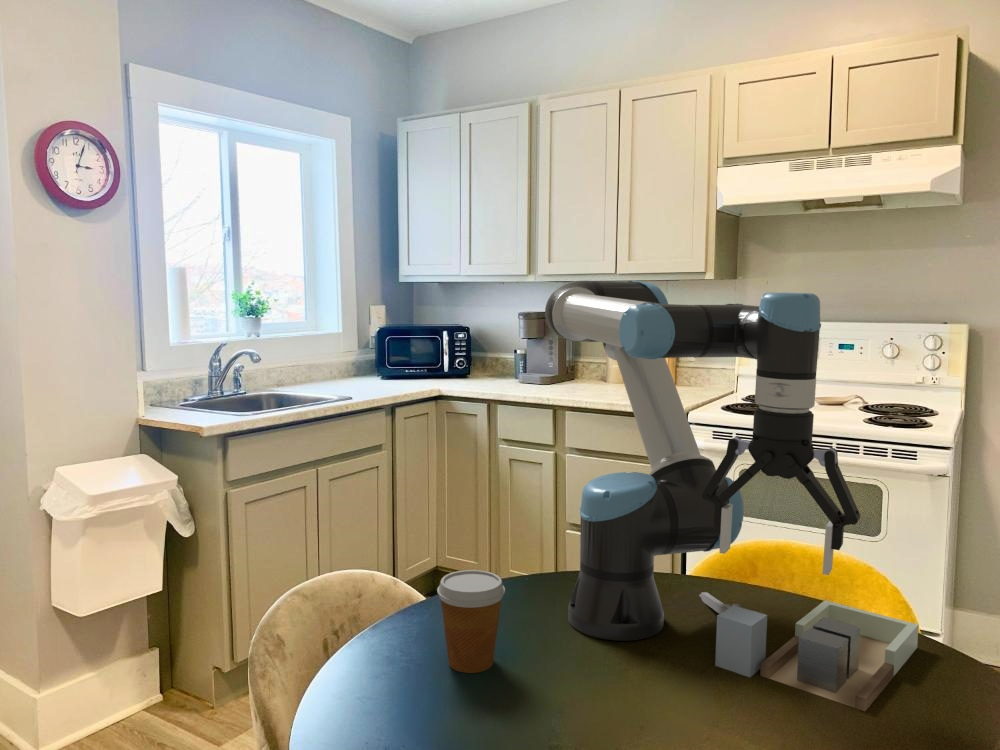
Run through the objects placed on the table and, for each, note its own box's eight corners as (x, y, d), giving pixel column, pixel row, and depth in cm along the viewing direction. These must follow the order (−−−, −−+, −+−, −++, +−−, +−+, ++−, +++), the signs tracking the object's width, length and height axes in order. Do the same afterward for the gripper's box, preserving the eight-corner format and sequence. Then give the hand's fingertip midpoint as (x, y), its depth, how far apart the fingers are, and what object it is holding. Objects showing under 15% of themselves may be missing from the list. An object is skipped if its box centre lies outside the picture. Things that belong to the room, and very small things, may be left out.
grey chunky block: (810, 667, 106) (812, 625, 105) (821, 657, 109) (823, 616, 108) (848, 679, 102) (850, 636, 102) (858, 669, 105) (860, 627, 105)
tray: (794, 646, 112) (795, 623, 112) (823, 621, 121) (824, 600, 121) (893, 676, 103) (894, 651, 103) (917, 647, 112) (918, 624, 112)
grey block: (715, 671, 106) (717, 615, 105) (731, 659, 110) (733, 605, 109) (749, 683, 103) (751, 626, 102) (765, 670, 106) (767, 614, 106)
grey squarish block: (796, 680, 102) (798, 637, 101) (808, 669, 105) (810, 627, 104) (835, 693, 99) (837, 648, 98) (846, 682, 101) (848, 638, 101)
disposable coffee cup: (423, 663, 108) (423, 580, 107) (471, 641, 115) (471, 564, 114) (470, 686, 101) (471, 599, 100) (518, 662, 108) (519, 580, 107)
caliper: (743, 650, 113) (745, 609, 113) (736, 650, 113) (737, 609, 113) (704, 597, 133) (706, 562, 133) (698, 597, 133) (699, 562, 133)
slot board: (760, 680, 103) (760, 663, 103) (823, 626, 121) (824, 611, 121) (864, 717, 94) (865, 698, 94) (916, 652, 112) (917, 637, 112)
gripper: (684, 402, 106) (677, 550, 108) (883, 422, 92) (870, 590, 95) (701, 396, 112) (694, 535, 114) (890, 414, 99) (878, 572, 101)
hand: (774, 561), depth 105 cm, fingers open, 13 cm apart
